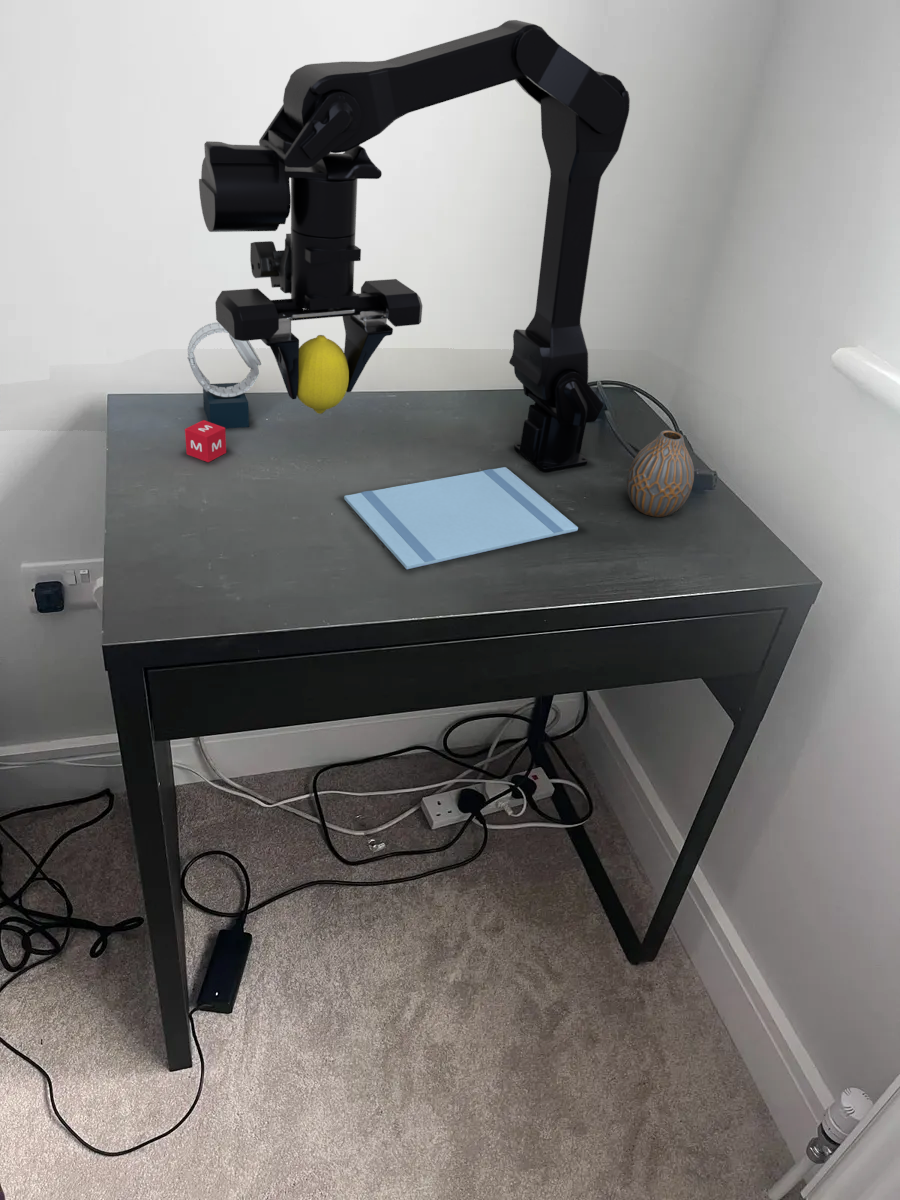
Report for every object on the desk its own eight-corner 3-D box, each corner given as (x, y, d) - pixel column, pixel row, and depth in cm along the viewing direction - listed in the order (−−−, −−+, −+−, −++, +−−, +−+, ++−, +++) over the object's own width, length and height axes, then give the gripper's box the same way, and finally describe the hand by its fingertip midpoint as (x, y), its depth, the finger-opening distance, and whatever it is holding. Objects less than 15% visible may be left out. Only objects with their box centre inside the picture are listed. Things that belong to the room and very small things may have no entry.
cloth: (505, 469, 104) (505, 466, 104) (577, 530, 95) (578, 527, 94) (344, 499, 95) (344, 495, 95) (406, 569, 85) (407, 565, 85)
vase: (615, 513, 98) (633, 439, 93) (627, 486, 104) (645, 415, 99) (678, 530, 97) (700, 455, 92) (688, 502, 102) (709, 430, 97)
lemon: (337, 429, 89) (340, 350, 85) (283, 419, 90) (283, 339, 85) (354, 407, 94) (357, 331, 89) (302, 398, 94) (303, 321, 90)
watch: (265, 426, 107) (264, 333, 100) (195, 430, 104) (189, 335, 98) (256, 406, 111) (255, 316, 105) (188, 409, 108) (182, 317, 102)
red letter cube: (204, 444, 101) (203, 419, 100) (226, 452, 100) (225, 427, 99) (186, 454, 99) (184, 428, 97) (208, 462, 98) (206, 437, 96)
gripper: (377, 204, 91) (370, 355, 100) (192, 209, 83) (202, 373, 92) (431, 235, 84) (417, 395, 93) (233, 244, 75) (239, 419, 84)
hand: (320, 394), depth 91 cm, fingers closed on lemon, 5 cm apart
